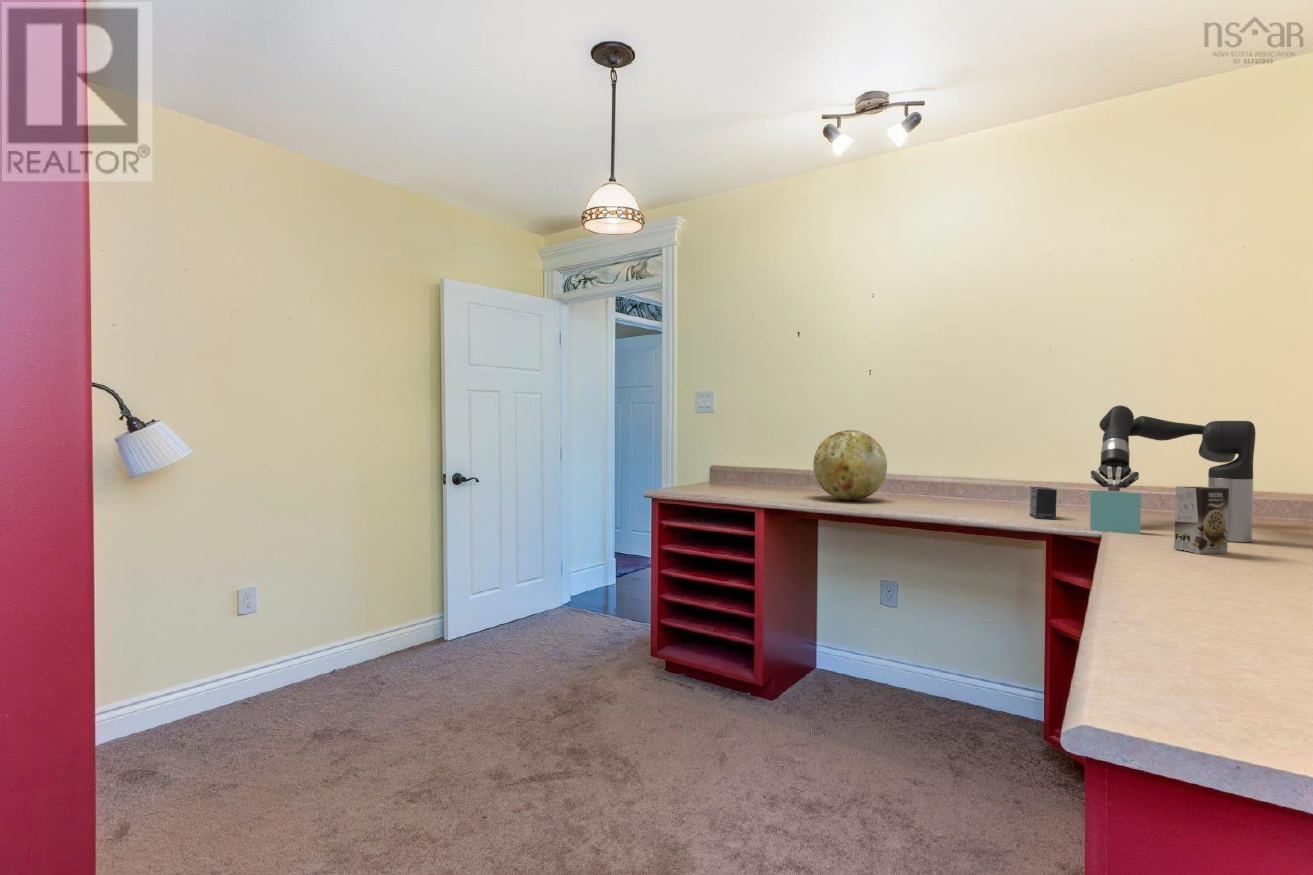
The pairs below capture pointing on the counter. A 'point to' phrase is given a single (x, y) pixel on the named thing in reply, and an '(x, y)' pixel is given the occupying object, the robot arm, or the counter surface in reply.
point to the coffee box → (1201, 519)
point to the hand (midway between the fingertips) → (1113, 495)
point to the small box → (1043, 503)
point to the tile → (1115, 511)
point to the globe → (850, 465)
